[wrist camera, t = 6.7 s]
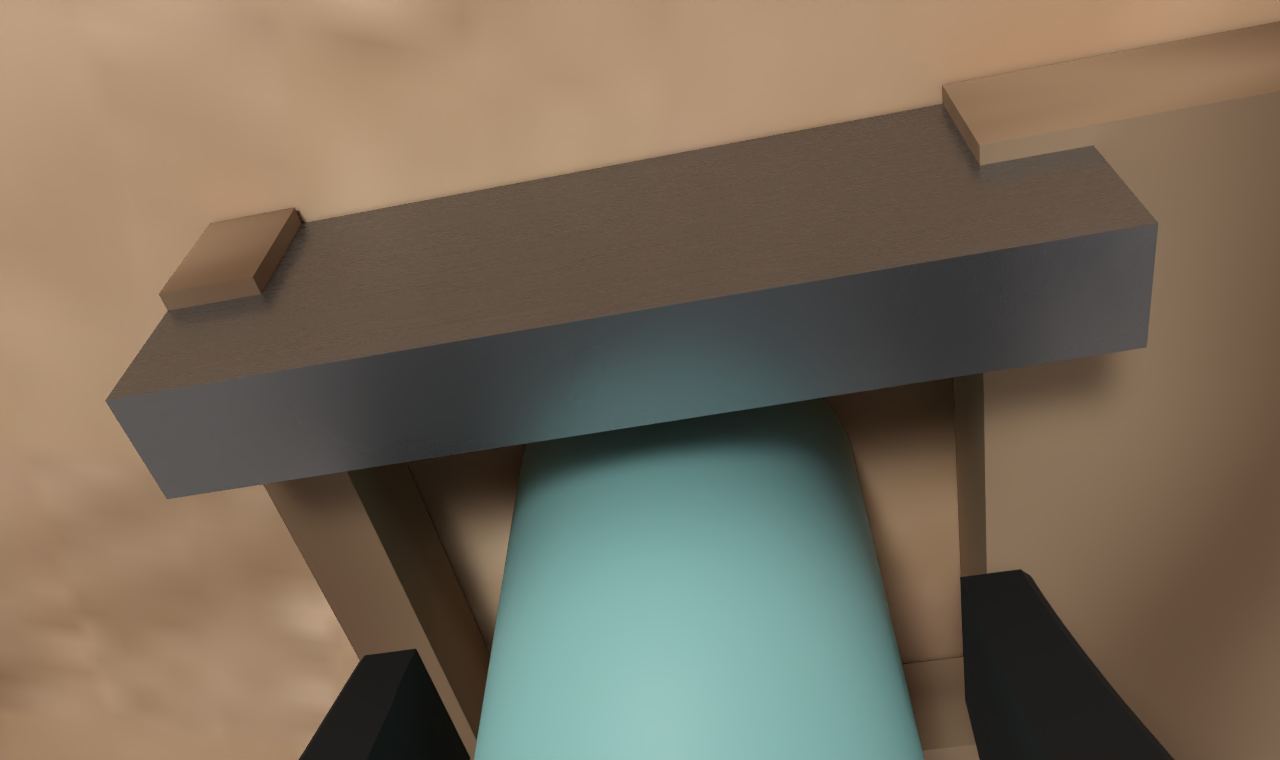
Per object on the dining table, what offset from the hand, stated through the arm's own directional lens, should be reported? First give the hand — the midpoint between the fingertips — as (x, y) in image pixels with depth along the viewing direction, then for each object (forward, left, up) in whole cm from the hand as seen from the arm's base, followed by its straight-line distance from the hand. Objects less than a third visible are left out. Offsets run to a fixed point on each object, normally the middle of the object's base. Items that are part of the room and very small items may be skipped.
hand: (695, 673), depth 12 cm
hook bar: (0, -4, -3) cm, 5 cm away
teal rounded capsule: (0, 0, -3) cm, 3 cm away
